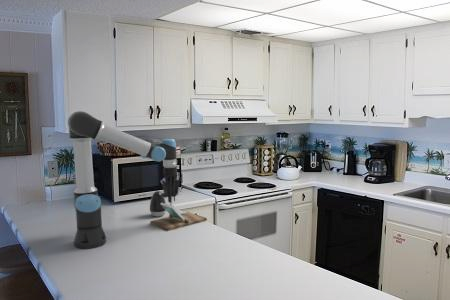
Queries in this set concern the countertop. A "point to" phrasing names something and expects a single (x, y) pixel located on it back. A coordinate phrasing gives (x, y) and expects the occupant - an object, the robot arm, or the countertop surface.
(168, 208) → the tile
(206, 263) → the countertop surface
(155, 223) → the walnut board
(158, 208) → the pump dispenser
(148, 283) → the countertop surface
